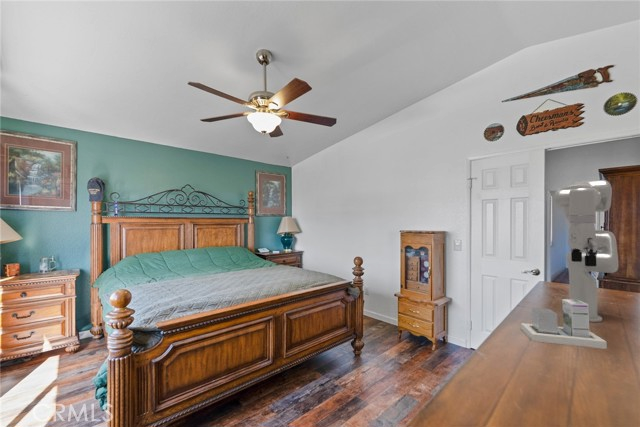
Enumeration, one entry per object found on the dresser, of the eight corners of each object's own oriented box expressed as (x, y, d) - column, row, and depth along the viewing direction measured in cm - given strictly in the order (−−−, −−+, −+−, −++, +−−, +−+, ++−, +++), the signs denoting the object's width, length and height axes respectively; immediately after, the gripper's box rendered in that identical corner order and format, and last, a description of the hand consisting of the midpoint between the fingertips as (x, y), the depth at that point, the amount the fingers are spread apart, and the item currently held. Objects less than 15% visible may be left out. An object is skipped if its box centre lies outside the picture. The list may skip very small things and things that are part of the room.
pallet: (521, 331, 118) (520, 323, 118) (586, 338, 111) (586, 329, 111) (532, 343, 106) (532, 334, 106) (606, 351, 100) (606, 341, 100)
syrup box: (590, 343, 104) (589, 303, 104) (571, 342, 105) (571, 302, 105) (580, 337, 109) (579, 299, 110) (562, 335, 111) (561, 298, 111)
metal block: (532, 332, 114) (532, 307, 114) (550, 334, 112) (549, 309, 112) (538, 338, 108) (538, 312, 108) (557, 340, 106) (557, 313, 107)
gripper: (559, 219, 120) (560, 259, 120) (582, 221, 103) (583, 267, 103) (582, 219, 117) (583, 260, 117) (608, 220, 101) (609, 268, 101)
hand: (583, 263), depth 110 cm, fingers open, 9 cm apart
